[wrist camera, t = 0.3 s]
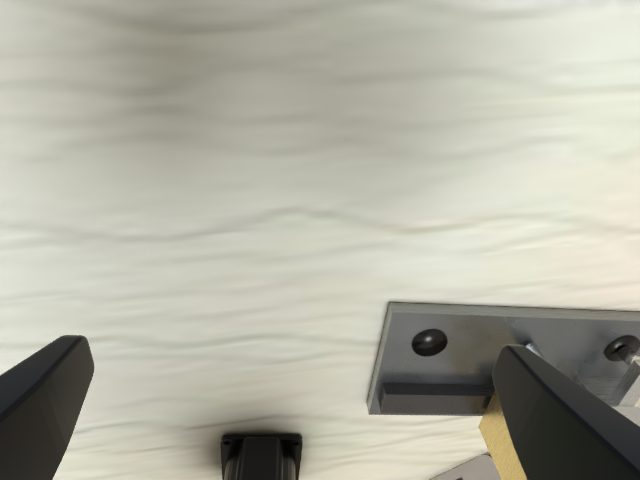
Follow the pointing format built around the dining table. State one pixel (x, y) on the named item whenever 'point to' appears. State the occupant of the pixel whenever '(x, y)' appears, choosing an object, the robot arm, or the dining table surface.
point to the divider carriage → (502, 436)
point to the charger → (472, 470)
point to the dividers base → (483, 350)
